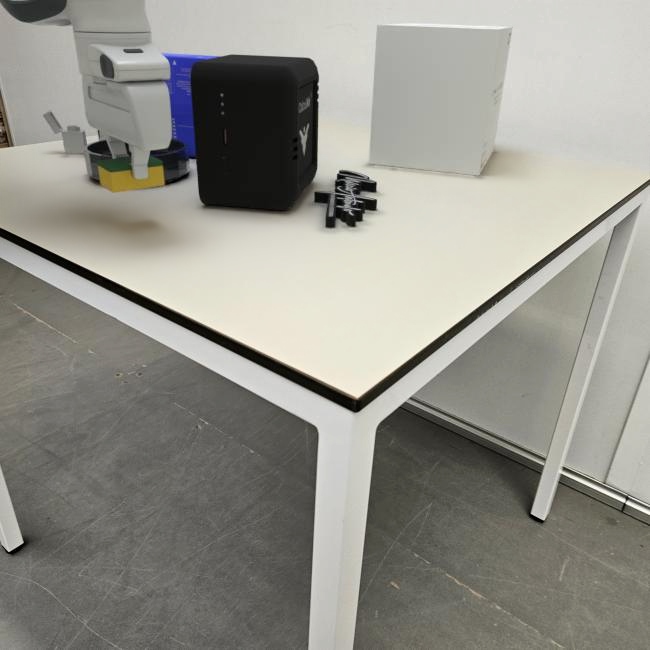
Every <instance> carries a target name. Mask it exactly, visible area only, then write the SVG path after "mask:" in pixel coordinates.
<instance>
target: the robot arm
mask: <svg viewBox="0 0 650 650" xmlns="http://www.w3.org/2000/svg"><path fill="white" fill-rule="evenodd" d="M0 5H1V6H2V7H3V8H4V10H5V11H7V13H8V14H9V15H10V16H11V17H13V18H14V19H15V20H17V21H19V22H21V23H24V24H25V23H26V24H30V25H33V26H45V27H46V26H47V27H49V26H50V27H51V26H57V27H72V34H73V40H74V46H75V52H76V59H77V65H78V71H79V72H78V73H79V74H80V75H81V85H82V86H81V87H82V97H83V105H84V114H85V117H86V118H85V119H86V121H87V124H88V125H89V127H91V128H93V129H95V130H97V131H98V130H99V131H101V132H104V133H105V134H106V141H107V143H108V146H109V148H110V151H111V154H112V156H113V159H115V158H124V157H129V155H128V154H127V151H126V147H125V143H124V142H126V143H128V144H129V150H130V152H132V159H131V164H129V165H130V171H131V176H132V177H134V178H136V179H145V178H147V177H148V167H147V164H148V159H149V155H150V150H158V149H165V148H168V147H169V145H170V141H171V138H172V123H171V107H170V96H169V90H168V87H167V85H166V83H165V82H164V81H163V80H166V79H169V78H170V64H169V61H168V60H167V59H166V58H165V57H164V56H163V55H162V54H161V53H162V52H160V50H159V49H158V48H157V46H156V44H155V43H154V42H153V37H152V36H153V35H152V27H151V25H150V22H149V18H148V16H147V9H146V0H0Z"/></svg>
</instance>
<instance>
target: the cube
mask: <svg viewBox="0 0 650 650" xmlns="http://www.w3.org/2000/svg"><path fill="white" fill-rule="evenodd" d="M512 33H513V26H508V25H507V26H505V25H476V24H475V25H474V24H472V25H471V24H449V23H425V22H424V23H420V22H403V23H400V22H399V23H383V24H376V36H375V37H376V38H375V52H374V68H373V69H374V70H373V73H374V74H373V88H372V100H371V101H372V104H371V121H370V135H369V136H370V137H369V139H370V140H369V154H368V155H369V156H368V164H369V165H376V166H384V167H385V166H386V167H393V168H402V169H403V168H404V169H413V170H423V171H430V172H431V171H432V172H441V173H451V174H458V175H459V174H460V175H469V176H480V174H481V173H482V171H483V169H484V168H485V166H486V165H487V163H488V161H489V159H490V158H491V156H492V154H493V153H494V150H495V143H496V137H497V130H498V124H499V118H500V110H501V105H502V98H503V91H504V87H505V86H504V85H505V78H506V71H507V65H508V60H509V52H510V46H511V39H512Z"/></svg>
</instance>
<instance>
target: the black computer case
mask: <svg viewBox="0 0 650 650" xmlns="http://www.w3.org/2000/svg"><path fill="white" fill-rule="evenodd" d="M220 56H221V57H216V58H211V59H206V60H201V61H196V62H195V63H194V64H193V66H192V69H191V75H190V83H191V96H192V110H193V124H194V137H195V151H196V158H195V162H196V176H197V177H196V178H197V190H198V198H199V200H200V202H201V203H202V204H203V205H213V206H225V207H234V208H235V207H236V208H247V209H248V208H249V209H260V210H273V211H288V210H289V209H291V208H292V207H293V206H294V204H296V202H297V201H298V200H299V198H300V197H301V195H303V193H305V191H306V190H307V188H309V186H310V185H311V184H312V182H313V180H314V179H315V178H316V175H317V171H318V167H319V163H318V161H319V155H318V153H319V107H320V106H319V105H320V104H319V103H320V102H319V101H318V100H319V98H320V97H319V95H320V93H318V92H319V90H320V86H319V83H320V74H319V69H318V66H317V64H316V62H315V61H314V60H313V59H312V58H310V57H304V56H303V57H302V56H281V55H280V56H279V55H258V54H257V55H256V54H255V55H253V54H234V53H233V54H232V53H231V54H226V55H220Z"/></svg>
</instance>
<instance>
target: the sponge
mask: <svg viewBox="0 0 650 650" xmlns="http://www.w3.org/2000/svg"><path fill="white" fill-rule="evenodd" d="M131 159H132V157H124V158H115V159H107V160H99V161H97V164H98V170H99V177H100V181H99V183H100V186H102V187H103V188H105V189H107V190H108V191H110V192H111V193H113V194H115V193H121V192H122V193H123V192H128V191H134V190H143V189H148V188H155V187H160V186H161V187H162V186H165V185H166V183H165V182H164V173H163V162H162V161H161V160H159V159H157V158H155V157H152V156H150V155H149V159H148V164H147V167H148V177H147V178H145V179H136V178H134V177H132V176H131V171H130V165H129V164H131Z"/></svg>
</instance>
